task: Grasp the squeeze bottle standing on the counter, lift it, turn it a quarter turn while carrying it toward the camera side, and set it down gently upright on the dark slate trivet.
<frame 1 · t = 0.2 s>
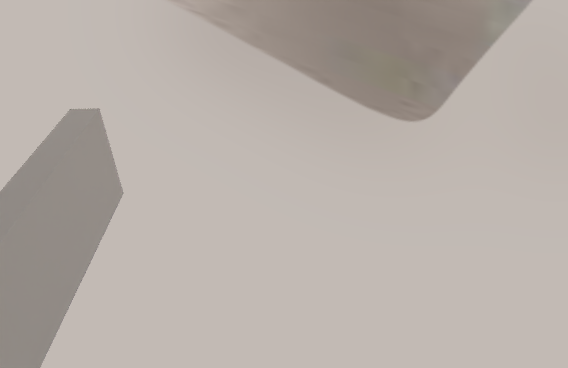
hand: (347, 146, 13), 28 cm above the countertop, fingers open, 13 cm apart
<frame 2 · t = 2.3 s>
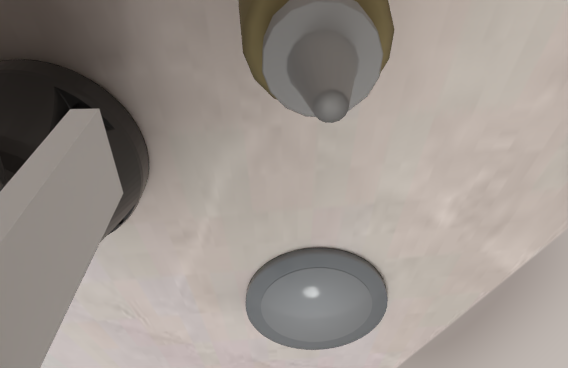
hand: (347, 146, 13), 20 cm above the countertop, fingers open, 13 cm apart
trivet: (315, 298, 47), on the countertop
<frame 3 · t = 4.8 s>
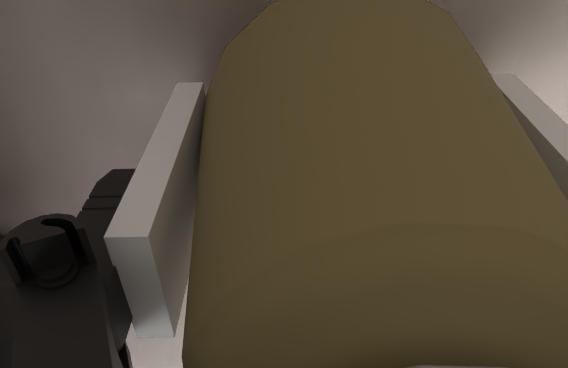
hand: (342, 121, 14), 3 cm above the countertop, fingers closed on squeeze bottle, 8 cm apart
squeeze bottle: (332, 76, 17), on the countertop, touching gripper
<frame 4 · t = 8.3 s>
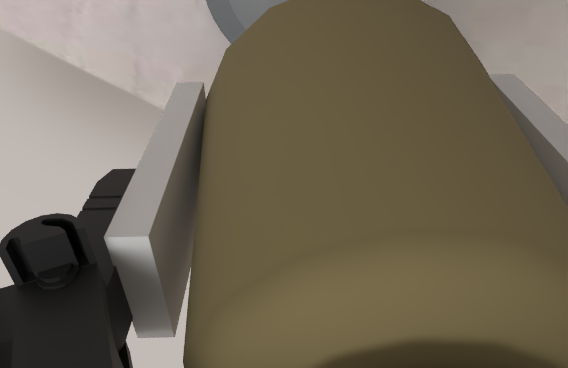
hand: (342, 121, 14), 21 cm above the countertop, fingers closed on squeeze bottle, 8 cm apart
squeeze bottle: (332, 78, 17), point 18 cm above the countertop, touching gripper
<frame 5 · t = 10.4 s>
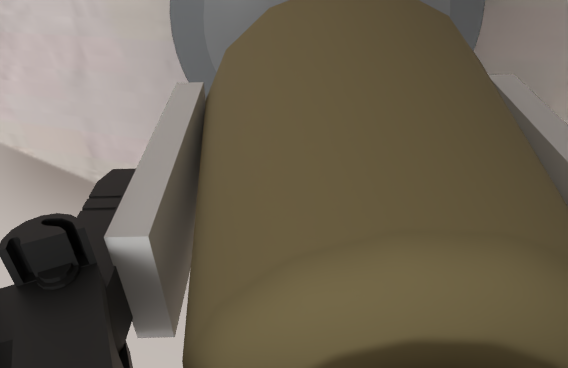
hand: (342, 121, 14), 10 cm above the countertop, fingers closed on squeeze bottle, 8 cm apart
squeeze bottle: (332, 78, 17), point 6 cm above the countertop, touching gripper
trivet: (324, 22, 22), on the countertop
when the fingers open (5 cm above the countertop, at t = 12.2 s): squeeze bottle stays where it is, resting on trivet.
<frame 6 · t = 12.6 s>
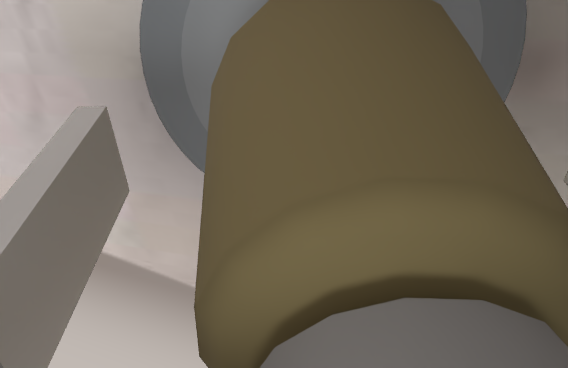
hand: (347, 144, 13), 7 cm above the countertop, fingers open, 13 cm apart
squeeze bottle: (332, 68, 17), point 1 cm above the countertop, touching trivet
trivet: (328, 58, 18), on the countertop
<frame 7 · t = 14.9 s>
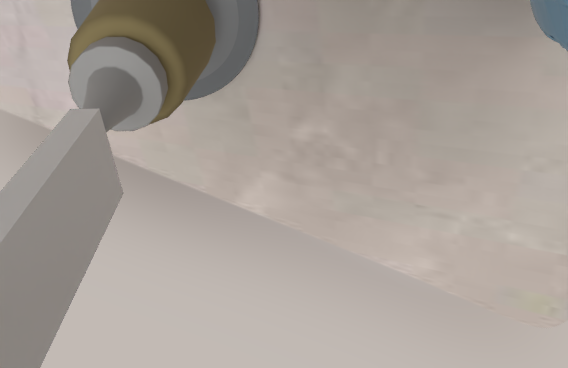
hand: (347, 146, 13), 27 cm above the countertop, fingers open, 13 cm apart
squeeze bottle: (167, 15, 35), point 1 cm above the countertop, touching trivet
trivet: (168, 12, 36), on the countertop
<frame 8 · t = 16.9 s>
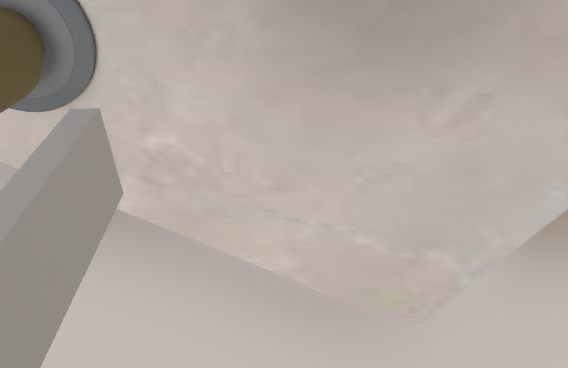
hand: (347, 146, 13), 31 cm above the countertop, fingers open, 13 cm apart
squeeze bottle: (12, 40, 41), point 1 cm above the countertop, touching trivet
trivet: (16, 36, 41), on the countertop
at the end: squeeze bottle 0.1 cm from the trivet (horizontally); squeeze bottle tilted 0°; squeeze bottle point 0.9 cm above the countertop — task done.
